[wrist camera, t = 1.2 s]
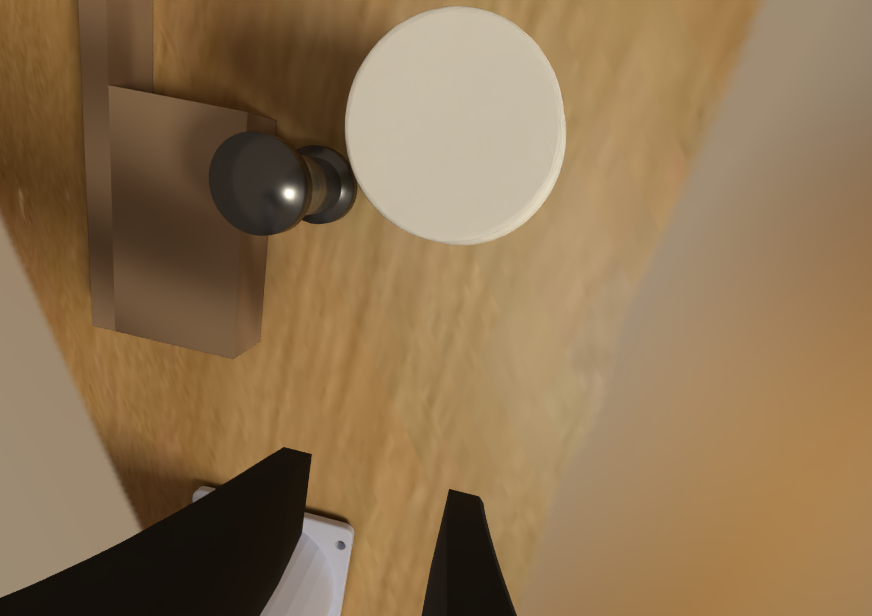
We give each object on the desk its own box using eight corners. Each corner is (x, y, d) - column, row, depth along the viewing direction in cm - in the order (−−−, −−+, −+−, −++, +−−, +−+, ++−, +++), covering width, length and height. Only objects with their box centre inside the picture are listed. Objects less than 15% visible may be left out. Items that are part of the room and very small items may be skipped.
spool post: (352, 229, 17) (298, 244, 12) (284, 215, 17) (206, 225, 13) (362, 154, 16) (308, 141, 12) (290, 140, 16) (210, 122, 12)
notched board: (259, 341, 19) (233, 359, 17) (132, 312, 19) (92, 325, 17) (300, -192, 14) (268, -254, 12) (124, -216, 14) (66, -278, 12)
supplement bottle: (383, 172, 16) (273, 157, 8) (461, 56, 15) (419, -97, 7) (484, 250, 17) (472, 311, 9) (569, 144, 15) (651, 96, 7)
